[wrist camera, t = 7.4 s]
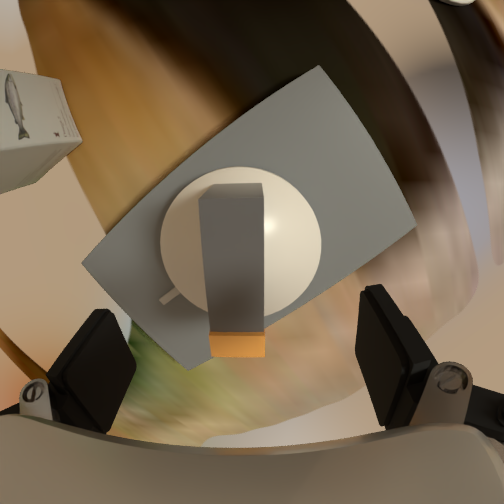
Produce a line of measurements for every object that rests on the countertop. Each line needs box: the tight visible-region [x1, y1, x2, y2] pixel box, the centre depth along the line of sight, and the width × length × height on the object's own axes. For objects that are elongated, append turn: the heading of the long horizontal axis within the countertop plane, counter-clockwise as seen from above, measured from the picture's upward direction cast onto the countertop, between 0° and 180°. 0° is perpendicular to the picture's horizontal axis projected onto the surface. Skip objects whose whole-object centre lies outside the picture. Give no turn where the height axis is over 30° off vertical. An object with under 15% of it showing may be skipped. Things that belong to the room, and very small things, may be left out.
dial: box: [160, 166, 321, 357], centre depth 17 cm, size 11×11×6 cm
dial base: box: [82, 65, 417, 371], centre depth 21 cm, size 24×14×2 cm, turn 127°
